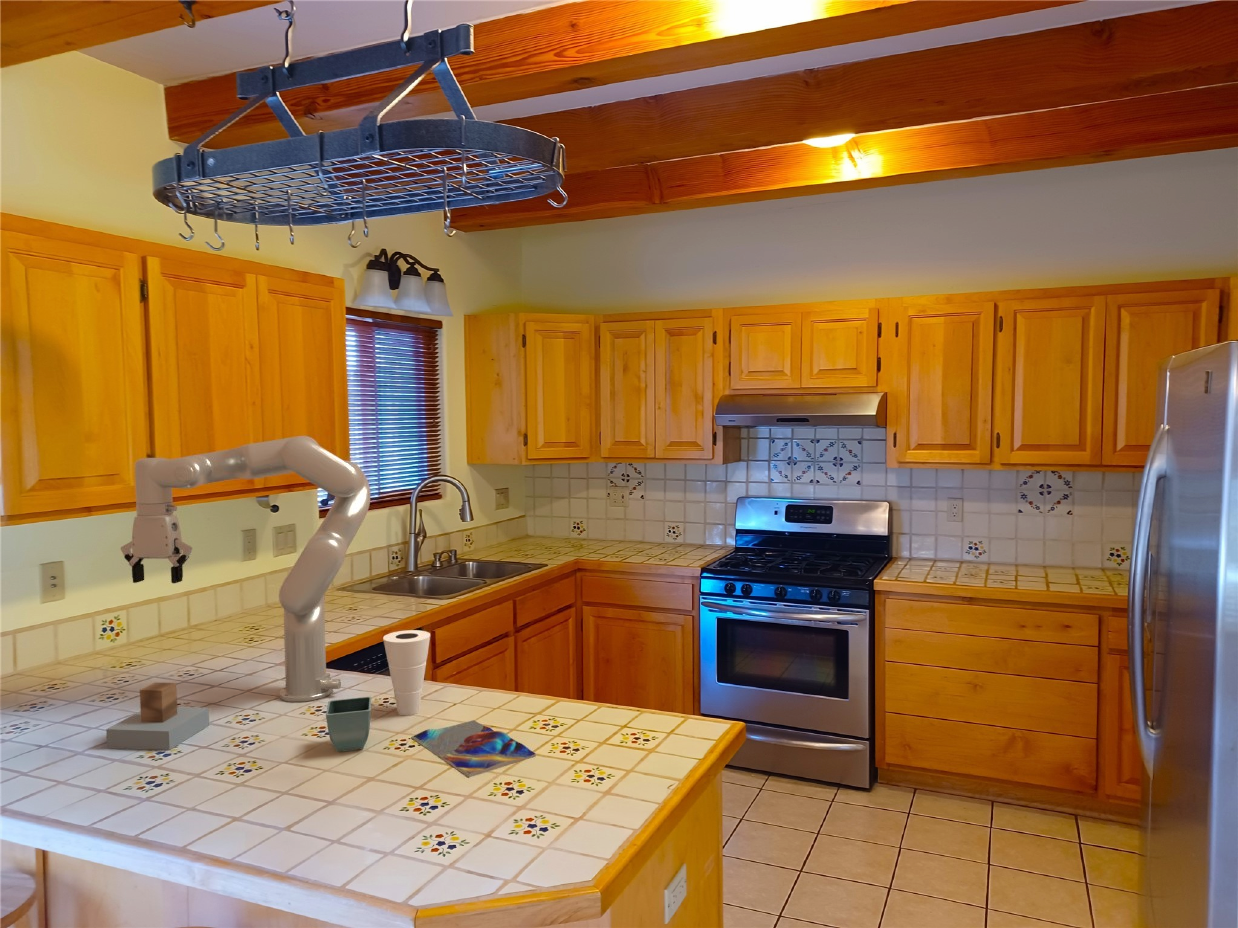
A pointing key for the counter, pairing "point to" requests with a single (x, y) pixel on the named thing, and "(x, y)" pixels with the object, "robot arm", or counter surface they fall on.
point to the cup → (407, 667)
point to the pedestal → (157, 730)
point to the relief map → (473, 747)
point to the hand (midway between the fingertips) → (157, 581)
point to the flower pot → (349, 723)
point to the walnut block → (158, 702)
